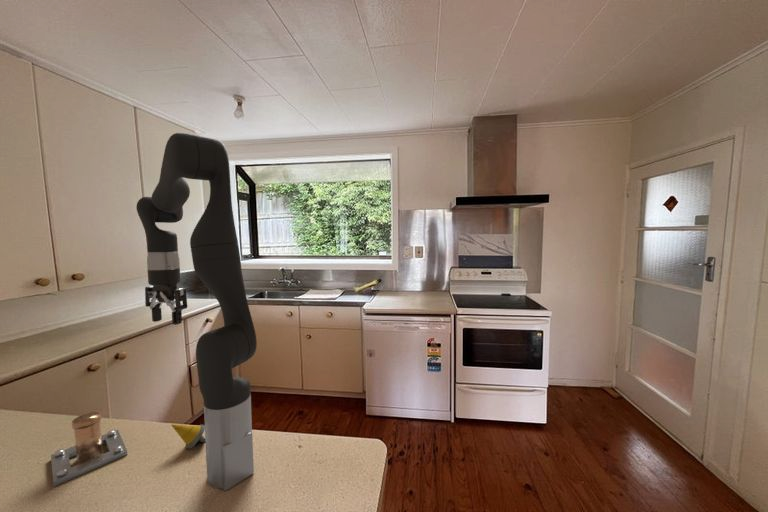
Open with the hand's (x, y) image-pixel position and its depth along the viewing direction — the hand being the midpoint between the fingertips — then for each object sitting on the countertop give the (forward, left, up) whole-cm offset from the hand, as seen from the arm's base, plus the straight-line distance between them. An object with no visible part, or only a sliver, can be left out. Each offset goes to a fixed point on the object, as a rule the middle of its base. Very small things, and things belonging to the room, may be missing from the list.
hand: (167, 322), depth 86 cm
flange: (-5, +18, -28) cm, 34 cm away
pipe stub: (-5, +18, -28) cm, 34 cm away
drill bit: (-20, +1, -28) cm, 35 cm away
